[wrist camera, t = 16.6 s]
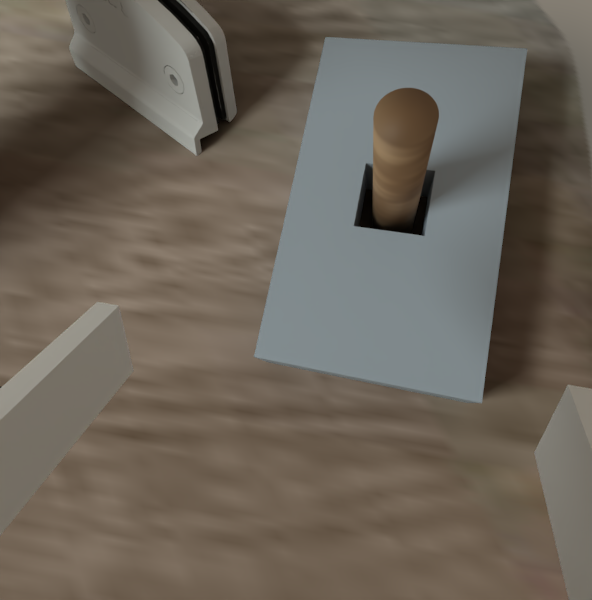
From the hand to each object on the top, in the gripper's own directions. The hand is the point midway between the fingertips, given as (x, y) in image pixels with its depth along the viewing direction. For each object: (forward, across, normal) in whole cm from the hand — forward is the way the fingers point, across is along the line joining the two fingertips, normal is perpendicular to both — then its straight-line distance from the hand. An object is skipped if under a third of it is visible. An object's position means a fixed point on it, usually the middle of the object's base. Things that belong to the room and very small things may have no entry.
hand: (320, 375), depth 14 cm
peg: (+22, +1, -4) cm, 23 cm away
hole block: (+22, +1, -4) cm, 23 cm away
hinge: (+30, -20, +3) cm, 37 cm away
